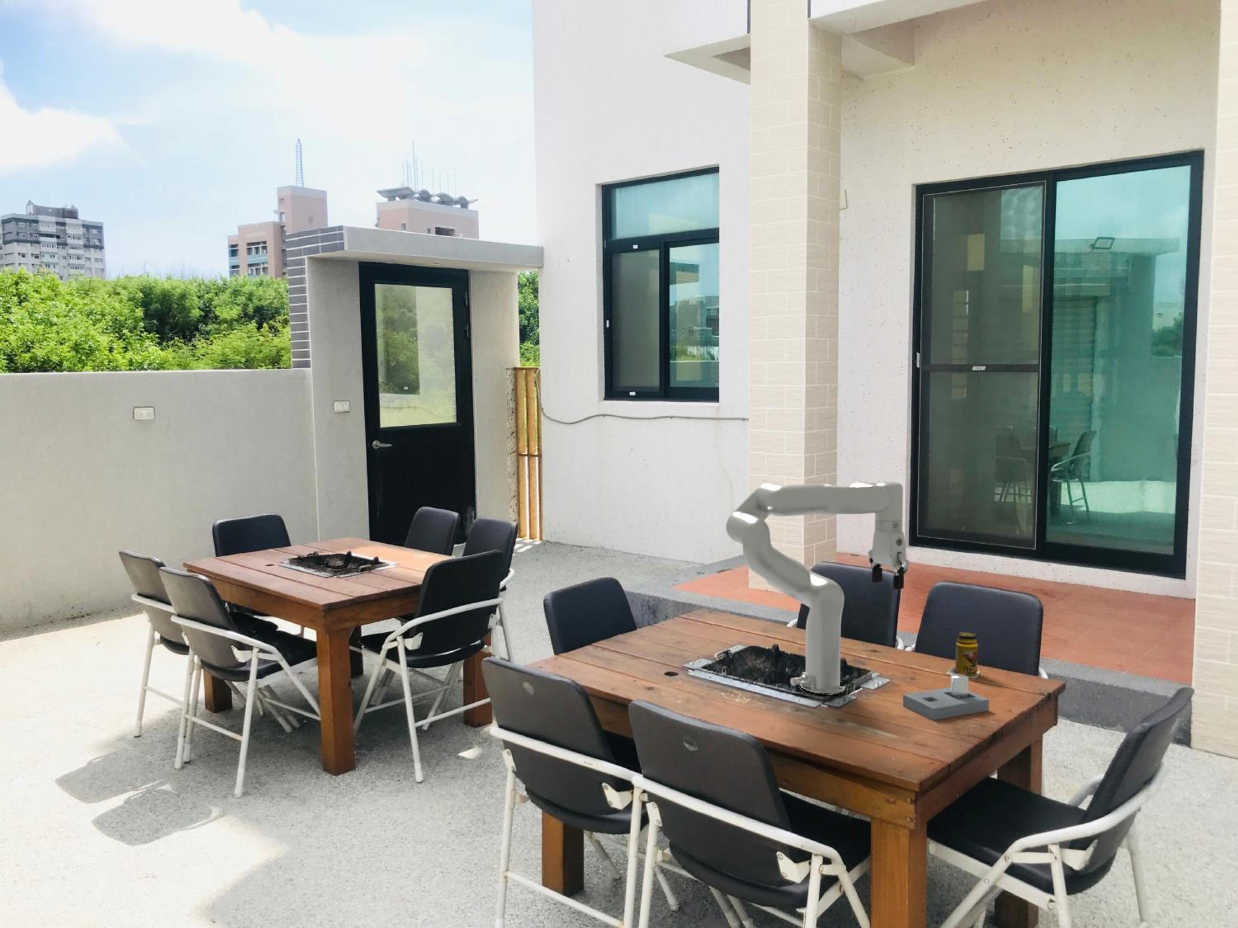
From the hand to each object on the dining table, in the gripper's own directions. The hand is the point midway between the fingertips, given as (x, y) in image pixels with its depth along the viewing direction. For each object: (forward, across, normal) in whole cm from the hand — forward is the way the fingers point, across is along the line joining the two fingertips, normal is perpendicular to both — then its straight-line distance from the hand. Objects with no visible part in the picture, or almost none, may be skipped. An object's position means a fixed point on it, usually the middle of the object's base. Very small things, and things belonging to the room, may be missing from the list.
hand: (887, 585), depth 276 cm
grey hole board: (+28, -24, -1) cm, 37 cm away
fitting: (+28, -24, -6) cm, 37 cm away
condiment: (+29, -2, -26) cm, 39 cm away
